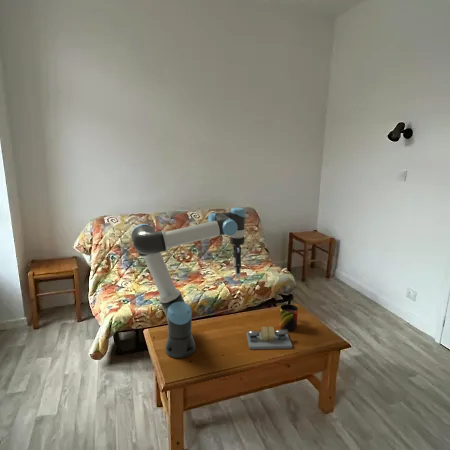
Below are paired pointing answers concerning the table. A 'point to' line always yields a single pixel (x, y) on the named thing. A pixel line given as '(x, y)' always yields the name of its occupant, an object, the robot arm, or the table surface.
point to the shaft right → (281, 334)
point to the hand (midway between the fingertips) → (236, 273)
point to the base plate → (269, 343)
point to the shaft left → (253, 335)
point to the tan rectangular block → (267, 334)
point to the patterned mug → (288, 317)
